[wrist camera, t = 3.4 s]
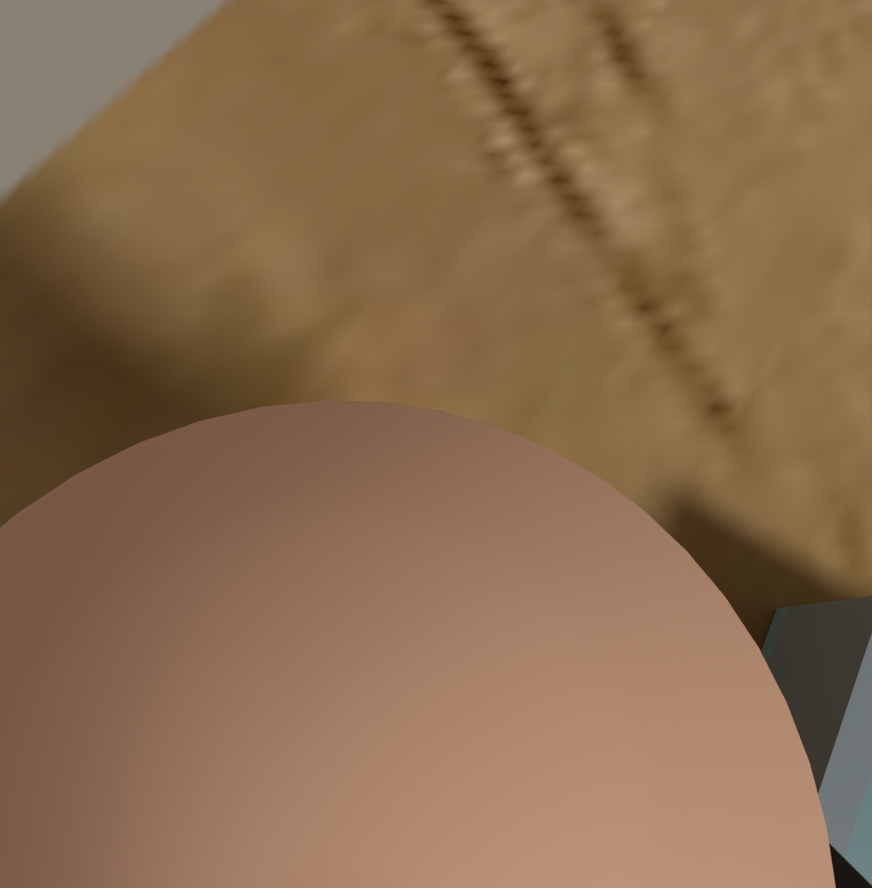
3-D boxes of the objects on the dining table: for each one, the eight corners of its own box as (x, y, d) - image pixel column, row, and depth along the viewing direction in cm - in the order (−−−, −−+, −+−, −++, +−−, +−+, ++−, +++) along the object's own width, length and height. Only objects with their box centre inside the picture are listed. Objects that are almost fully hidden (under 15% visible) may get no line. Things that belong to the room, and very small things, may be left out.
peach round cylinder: (473, 728, 17) (1011, 893, 4) (286, 925, 15) (304, 2033, 3) (311, 548, 17) (388, 234, 5) (113, 722, 16) (-533, 925, 3)
